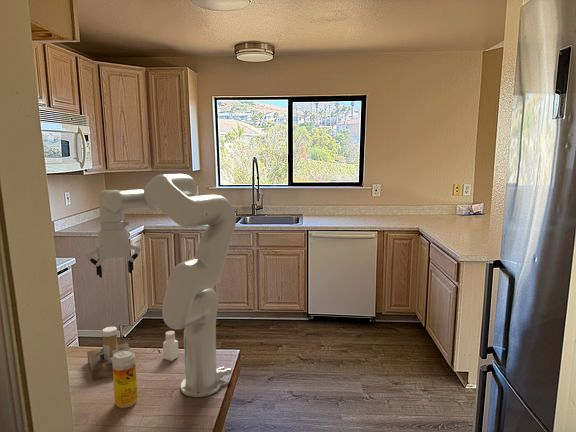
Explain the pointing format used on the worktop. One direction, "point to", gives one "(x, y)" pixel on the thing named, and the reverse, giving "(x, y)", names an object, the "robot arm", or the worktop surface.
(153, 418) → the worktop surface
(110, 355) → the sprinkles bottle
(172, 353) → the pepper shaker
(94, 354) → the open brown cardboard box
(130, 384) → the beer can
